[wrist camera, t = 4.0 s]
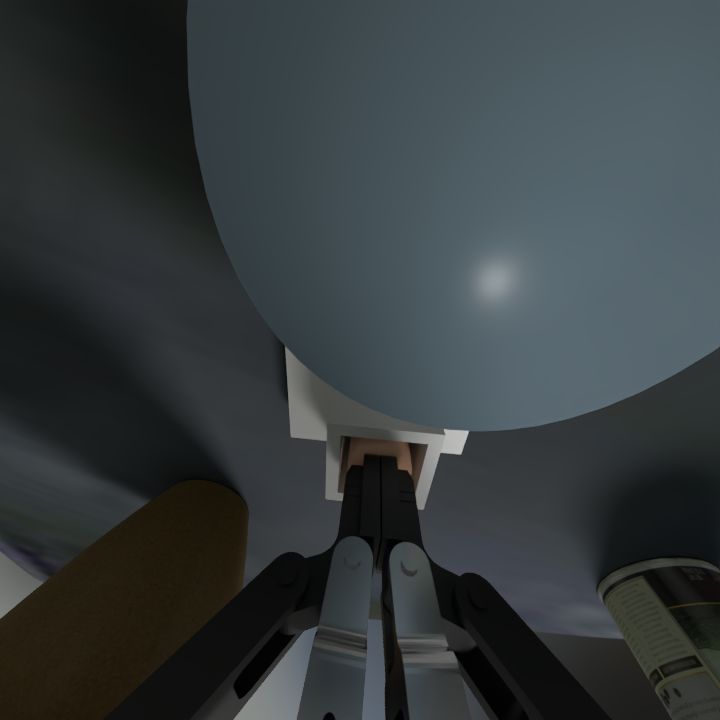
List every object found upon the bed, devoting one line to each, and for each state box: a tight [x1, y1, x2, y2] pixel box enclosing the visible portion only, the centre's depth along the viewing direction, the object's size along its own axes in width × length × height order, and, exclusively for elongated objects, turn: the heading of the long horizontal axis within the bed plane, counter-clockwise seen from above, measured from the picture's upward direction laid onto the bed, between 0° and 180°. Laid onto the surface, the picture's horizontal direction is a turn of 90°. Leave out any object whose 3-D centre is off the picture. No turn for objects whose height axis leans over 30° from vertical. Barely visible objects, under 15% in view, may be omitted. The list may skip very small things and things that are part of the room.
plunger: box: [348, 436, 412, 475], centre depth 14 cm, size 3×3×4 cm
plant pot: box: [0, 480, 249, 720], centre depth 17 cm, size 15×15×16 cm
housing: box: [285, 346, 469, 510], centre depth 12 cm, size 11×17×6 cm, turn 176°
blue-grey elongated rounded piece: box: [187, 0, 720, 431], centre depth 6 cm, size 5×5×10 cm
